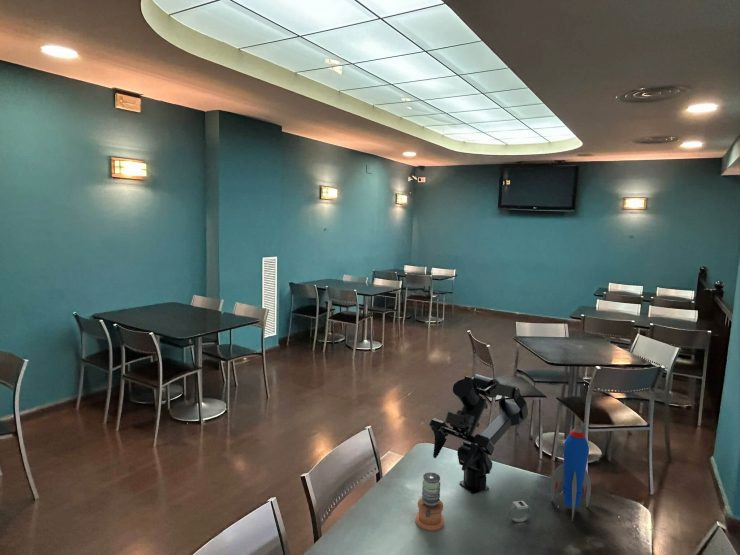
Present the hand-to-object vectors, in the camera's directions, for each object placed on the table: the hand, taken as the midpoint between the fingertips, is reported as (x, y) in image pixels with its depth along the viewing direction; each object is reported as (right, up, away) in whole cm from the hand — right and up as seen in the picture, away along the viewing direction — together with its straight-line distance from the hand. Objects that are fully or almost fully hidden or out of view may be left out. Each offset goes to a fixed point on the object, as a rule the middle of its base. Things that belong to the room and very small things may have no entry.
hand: (448, 463), depth 125 cm
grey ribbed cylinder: (-6, -9, -5) cm, 11 cm away
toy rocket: (+35, -14, +1) cm, 38 cm away
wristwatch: (+19, -14, -3) cm, 24 cm away
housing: (-6, -14, -4) cm, 15 cm away
